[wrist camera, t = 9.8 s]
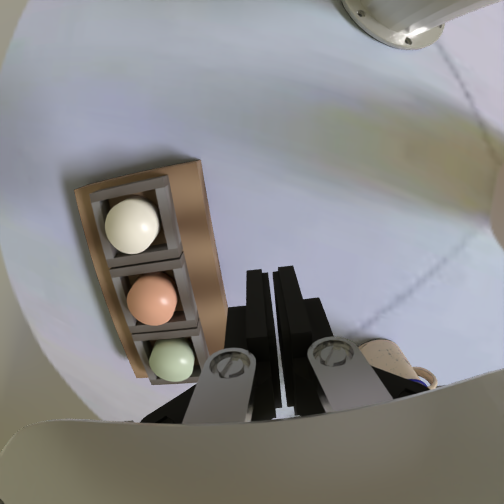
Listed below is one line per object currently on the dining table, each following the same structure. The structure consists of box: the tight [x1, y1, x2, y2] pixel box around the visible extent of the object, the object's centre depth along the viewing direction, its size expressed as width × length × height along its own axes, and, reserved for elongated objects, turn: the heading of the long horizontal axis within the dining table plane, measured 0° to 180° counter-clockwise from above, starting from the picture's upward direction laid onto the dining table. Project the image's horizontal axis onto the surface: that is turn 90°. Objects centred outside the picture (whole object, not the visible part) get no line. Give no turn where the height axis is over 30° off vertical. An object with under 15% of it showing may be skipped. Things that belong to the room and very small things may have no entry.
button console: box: [74, 160, 228, 385], centre depth 30 cm, size 22×12×5 cm, turn 8°
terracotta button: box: [127, 271, 179, 326], centre depth 28 cm, size 4×4×2 cm
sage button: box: [149, 337, 195, 382], centre depth 31 cm, size 4×4×2 cm
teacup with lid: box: [358, 339, 437, 390], centre depth 33 cm, size 12×9×12 cm
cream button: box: [105, 196, 162, 254], centre depth 26 cm, size 4×4×2 cm
